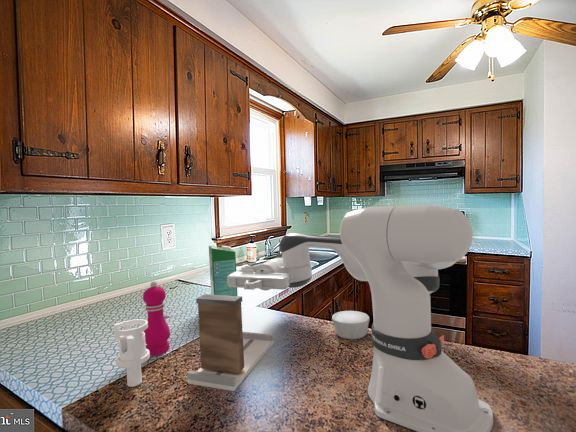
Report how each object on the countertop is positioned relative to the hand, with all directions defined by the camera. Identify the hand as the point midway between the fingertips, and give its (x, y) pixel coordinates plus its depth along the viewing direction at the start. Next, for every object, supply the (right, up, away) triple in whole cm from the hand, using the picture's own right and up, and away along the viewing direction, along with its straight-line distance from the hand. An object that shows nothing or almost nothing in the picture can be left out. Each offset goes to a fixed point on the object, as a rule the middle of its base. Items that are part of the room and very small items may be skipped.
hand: (248, 286), depth 91 cm
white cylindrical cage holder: (-24, -18, -18) cm, 36 cm away
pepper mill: (-26, -18, -2) cm, 31 cm away
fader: (-4, -16, -16) cm, 23 cm away
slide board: (-2, -17, -10) cm, 20 cm away
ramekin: (+31, -15, +4) cm, 35 cm away
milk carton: (-14, -16, +33) cm, 40 cm away
